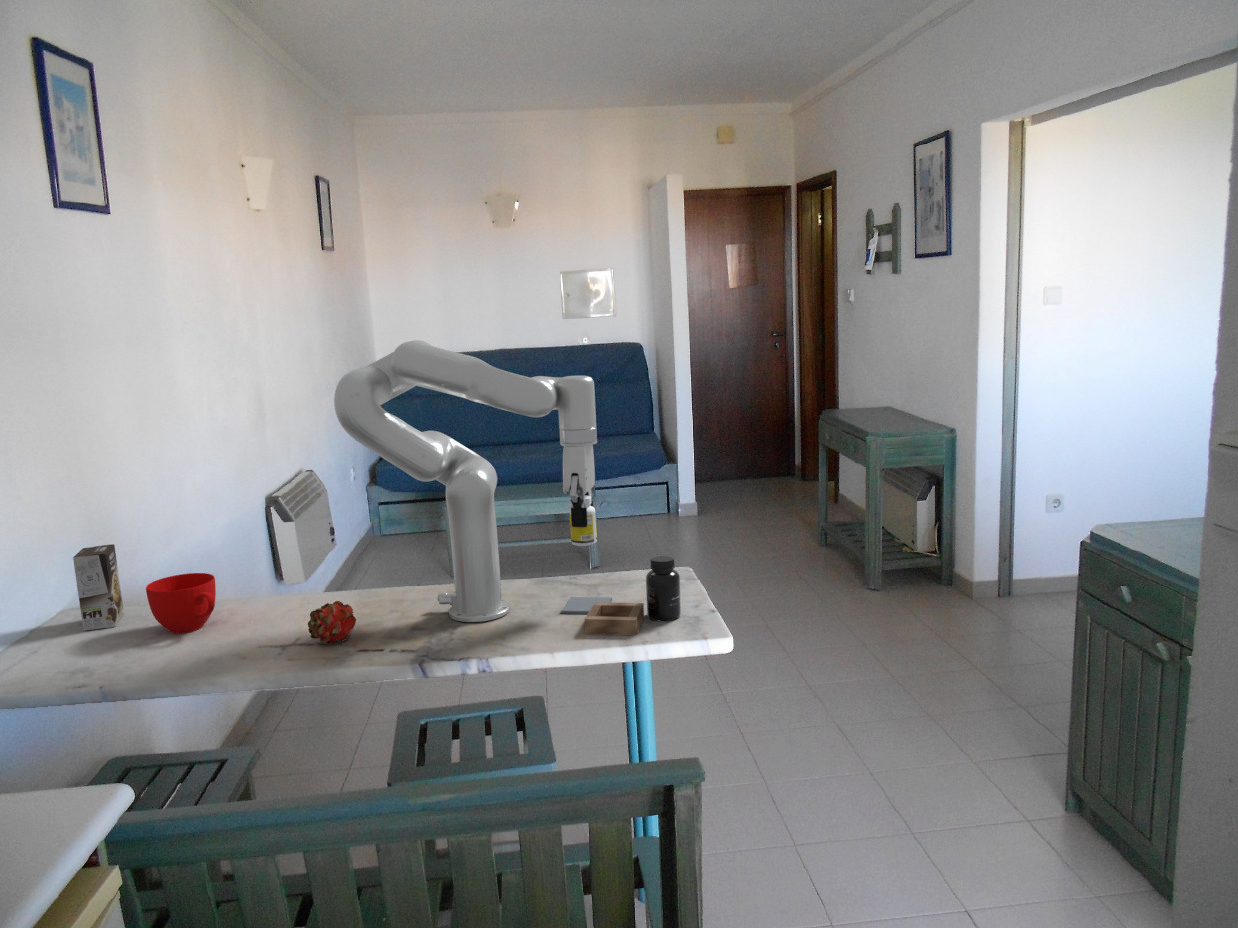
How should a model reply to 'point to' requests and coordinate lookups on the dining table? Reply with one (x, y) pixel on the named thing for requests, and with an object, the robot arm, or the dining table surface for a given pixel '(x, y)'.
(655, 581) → the supplement bottle
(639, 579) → the dining table surface
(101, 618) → the coffee box
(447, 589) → the dining table surface
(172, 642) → the dining table surface
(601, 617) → the walnut collar
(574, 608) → the slate mat
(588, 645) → the dining table surface
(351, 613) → the dragon fruit
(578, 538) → the supplement bottle
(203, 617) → the ceramic cup
